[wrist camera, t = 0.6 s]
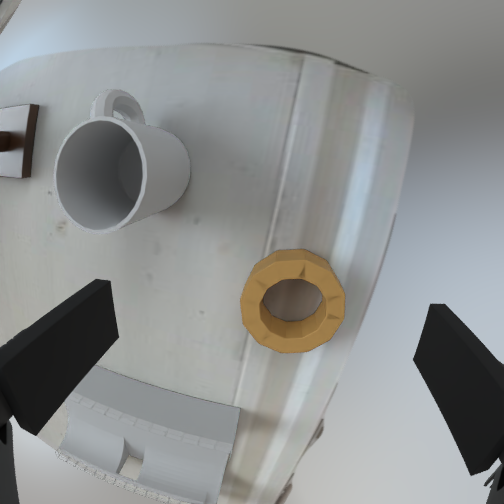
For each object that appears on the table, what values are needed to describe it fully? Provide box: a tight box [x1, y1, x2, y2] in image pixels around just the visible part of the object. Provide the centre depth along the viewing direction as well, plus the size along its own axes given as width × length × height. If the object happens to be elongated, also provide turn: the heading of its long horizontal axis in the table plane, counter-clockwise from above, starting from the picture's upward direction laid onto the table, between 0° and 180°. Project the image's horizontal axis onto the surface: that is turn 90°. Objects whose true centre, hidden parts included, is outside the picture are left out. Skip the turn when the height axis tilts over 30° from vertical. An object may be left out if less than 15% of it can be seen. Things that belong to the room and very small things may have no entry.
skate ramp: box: [57, 365, 241, 504], centre depth 30 cm, size 25×23×10 cm
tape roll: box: [240, 249, 345, 353], centre depth 25 cm, size 8×8×3 cm
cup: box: [53, 90, 191, 234], centre depth 20 cm, size 7×10×9 cm
